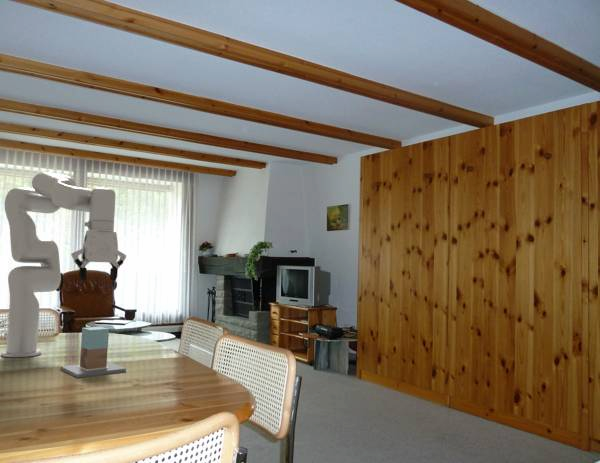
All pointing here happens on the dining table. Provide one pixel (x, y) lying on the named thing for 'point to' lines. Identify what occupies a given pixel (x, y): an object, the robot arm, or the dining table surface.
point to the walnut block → (93, 358)
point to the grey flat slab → (92, 370)
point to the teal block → (94, 338)
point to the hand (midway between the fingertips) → (98, 280)
